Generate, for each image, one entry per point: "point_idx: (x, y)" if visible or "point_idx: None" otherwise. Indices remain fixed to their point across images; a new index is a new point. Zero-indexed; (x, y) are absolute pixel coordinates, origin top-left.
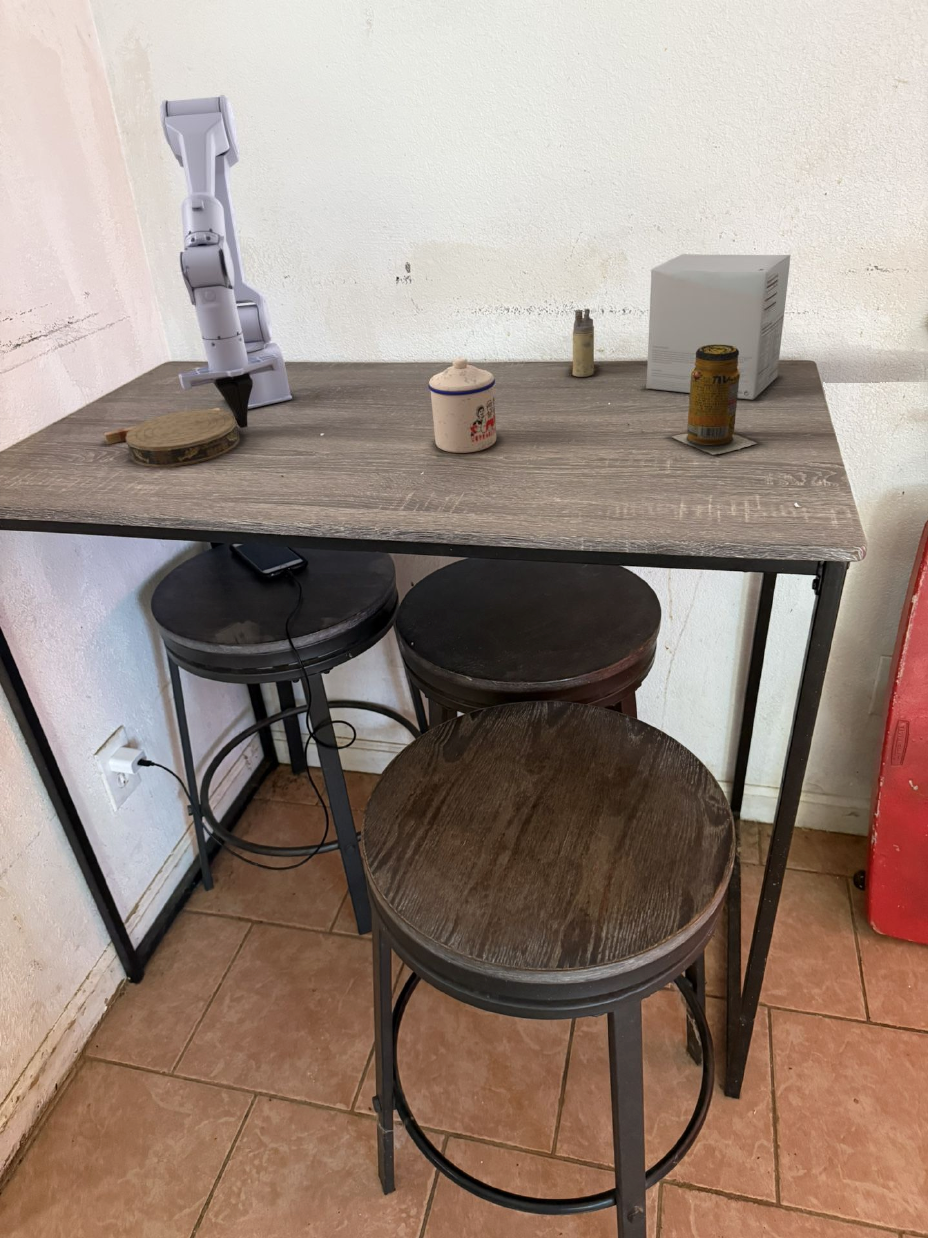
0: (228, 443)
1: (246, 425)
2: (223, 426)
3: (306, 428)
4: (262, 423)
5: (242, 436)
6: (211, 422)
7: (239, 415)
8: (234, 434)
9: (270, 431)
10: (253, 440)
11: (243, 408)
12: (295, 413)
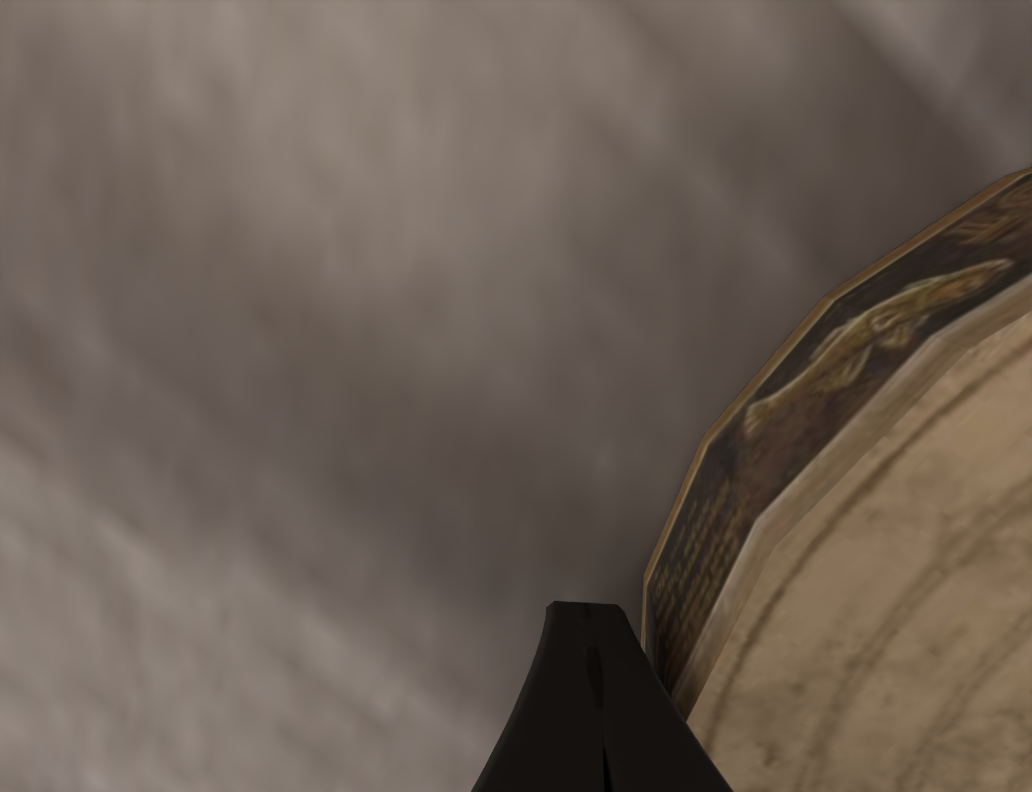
0: (943, 253)
1: (561, 604)
2: (997, 482)
3: (19, 326)
4: (364, 720)
5: (620, 547)
6: (1015, 744)
7: (638, 693)
8: (802, 405)
9: (356, 493)
10: (575, 367)
11: (565, 757)
12: (67, 745)
